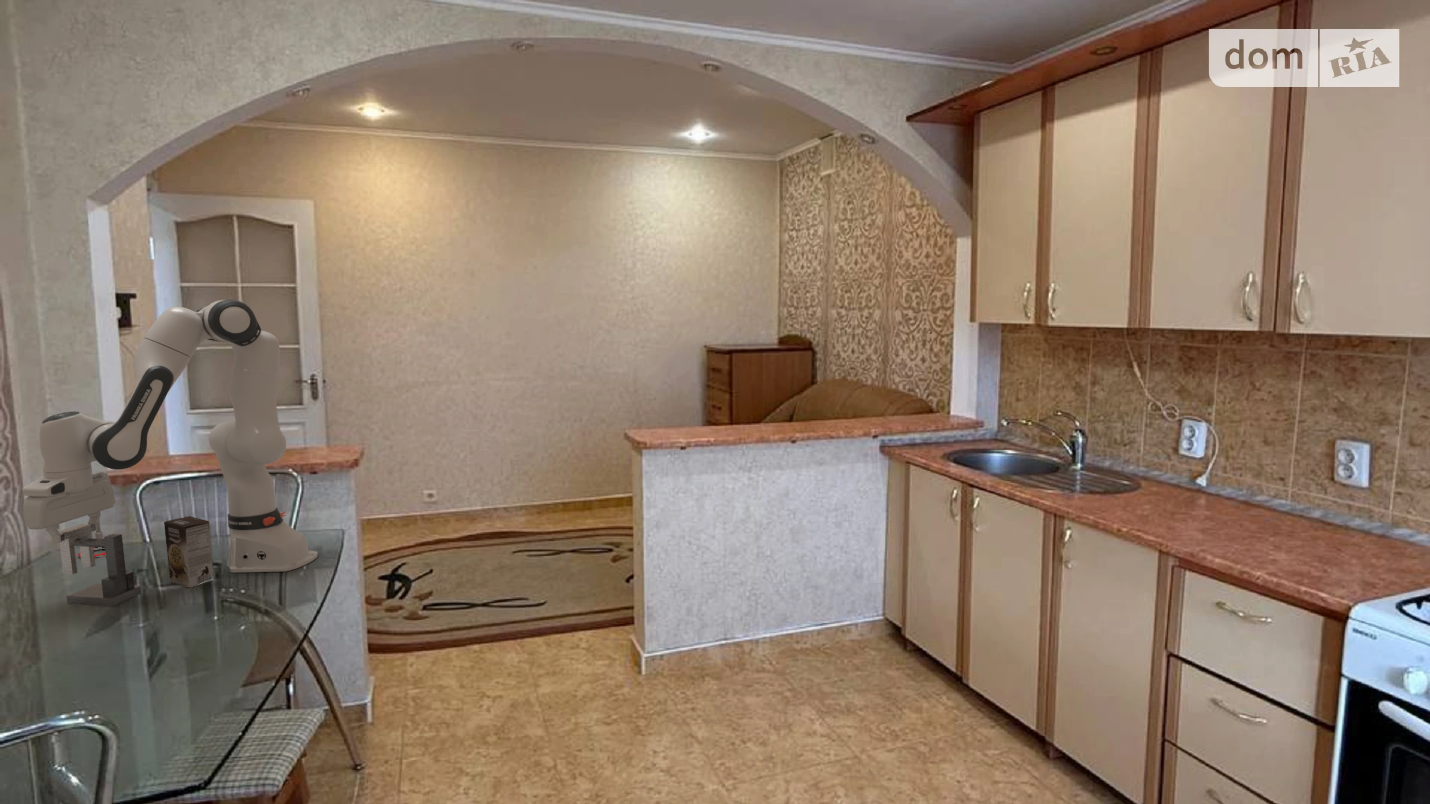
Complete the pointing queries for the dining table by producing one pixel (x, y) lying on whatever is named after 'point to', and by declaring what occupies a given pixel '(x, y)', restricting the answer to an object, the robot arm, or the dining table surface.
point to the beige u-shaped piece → (69, 550)
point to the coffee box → (188, 550)
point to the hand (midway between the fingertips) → (75, 536)
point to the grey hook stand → (118, 580)
